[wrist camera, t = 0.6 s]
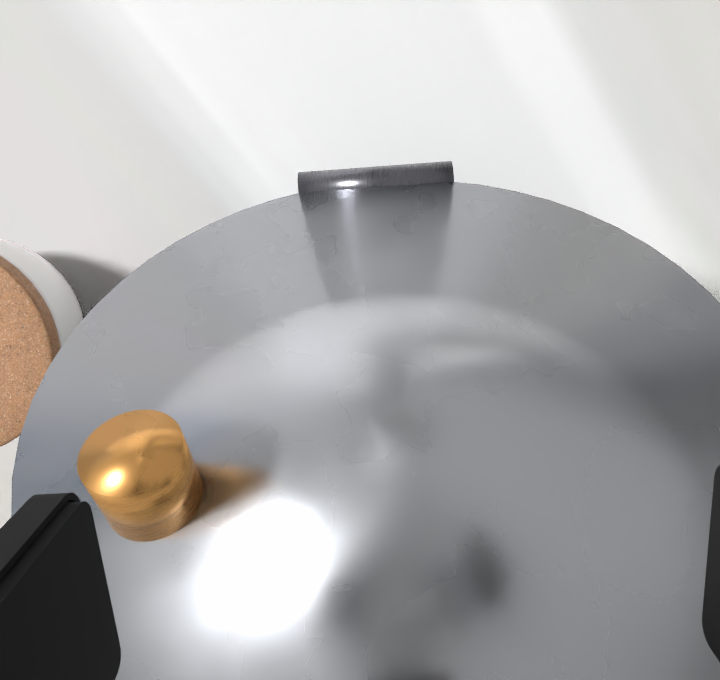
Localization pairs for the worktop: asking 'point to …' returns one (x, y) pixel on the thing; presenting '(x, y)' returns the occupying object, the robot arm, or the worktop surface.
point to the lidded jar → (29, 329)
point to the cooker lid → (395, 441)
